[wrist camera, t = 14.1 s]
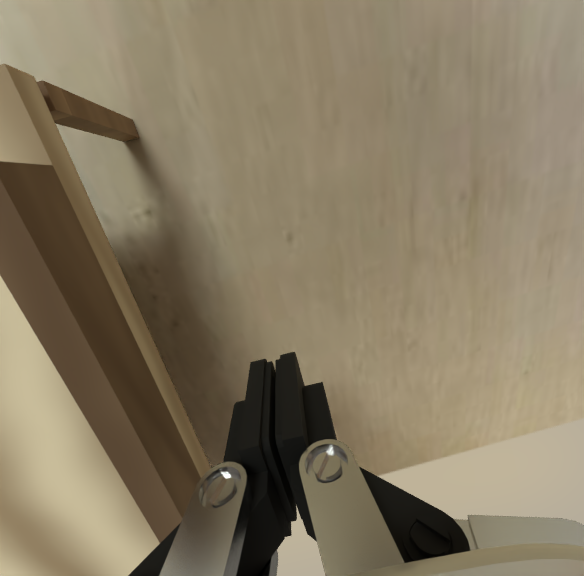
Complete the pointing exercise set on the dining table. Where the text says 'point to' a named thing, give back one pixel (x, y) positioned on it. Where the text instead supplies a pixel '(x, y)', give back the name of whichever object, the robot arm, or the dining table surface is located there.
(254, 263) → the dining table surface
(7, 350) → the lid
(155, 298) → the dining table surface
